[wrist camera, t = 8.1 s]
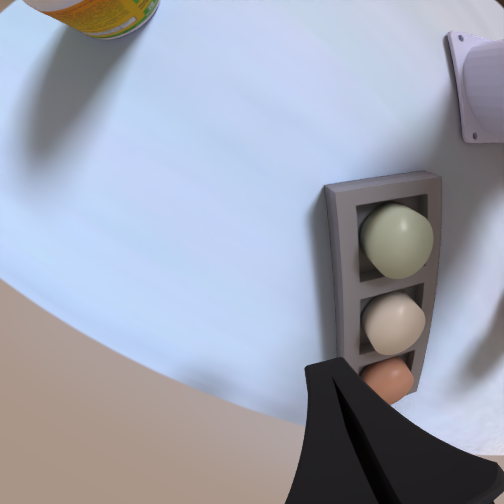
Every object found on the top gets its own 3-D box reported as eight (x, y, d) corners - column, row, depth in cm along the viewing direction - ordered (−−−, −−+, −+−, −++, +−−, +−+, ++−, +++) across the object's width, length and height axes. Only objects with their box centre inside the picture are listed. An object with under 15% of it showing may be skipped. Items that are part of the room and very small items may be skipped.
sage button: (416, 197, 17) (434, 206, 15) (415, 257, 19) (431, 270, 17) (358, 207, 17) (372, 218, 15) (361, 270, 19) (373, 286, 17)
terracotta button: (406, 348, 22) (417, 365, 20) (400, 382, 23) (409, 397, 22) (360, 363, 22) (369, 381, 20) (358, 395, 23) (365, 412, 22)
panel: (423, 170, 18) (441, 176, 16) (407, 376, 25) (416, 391, 23) (324, 185, 18) (335, 192, 16) (337, 398, 25) (343, 415, 23)
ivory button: (414, 283, 19) (428, 298, 18) (409, 329, 21) (421, 345, 19) (361, 297, 19) (373, 314, 18) (361, 343, 21) (370, 361, 19)
